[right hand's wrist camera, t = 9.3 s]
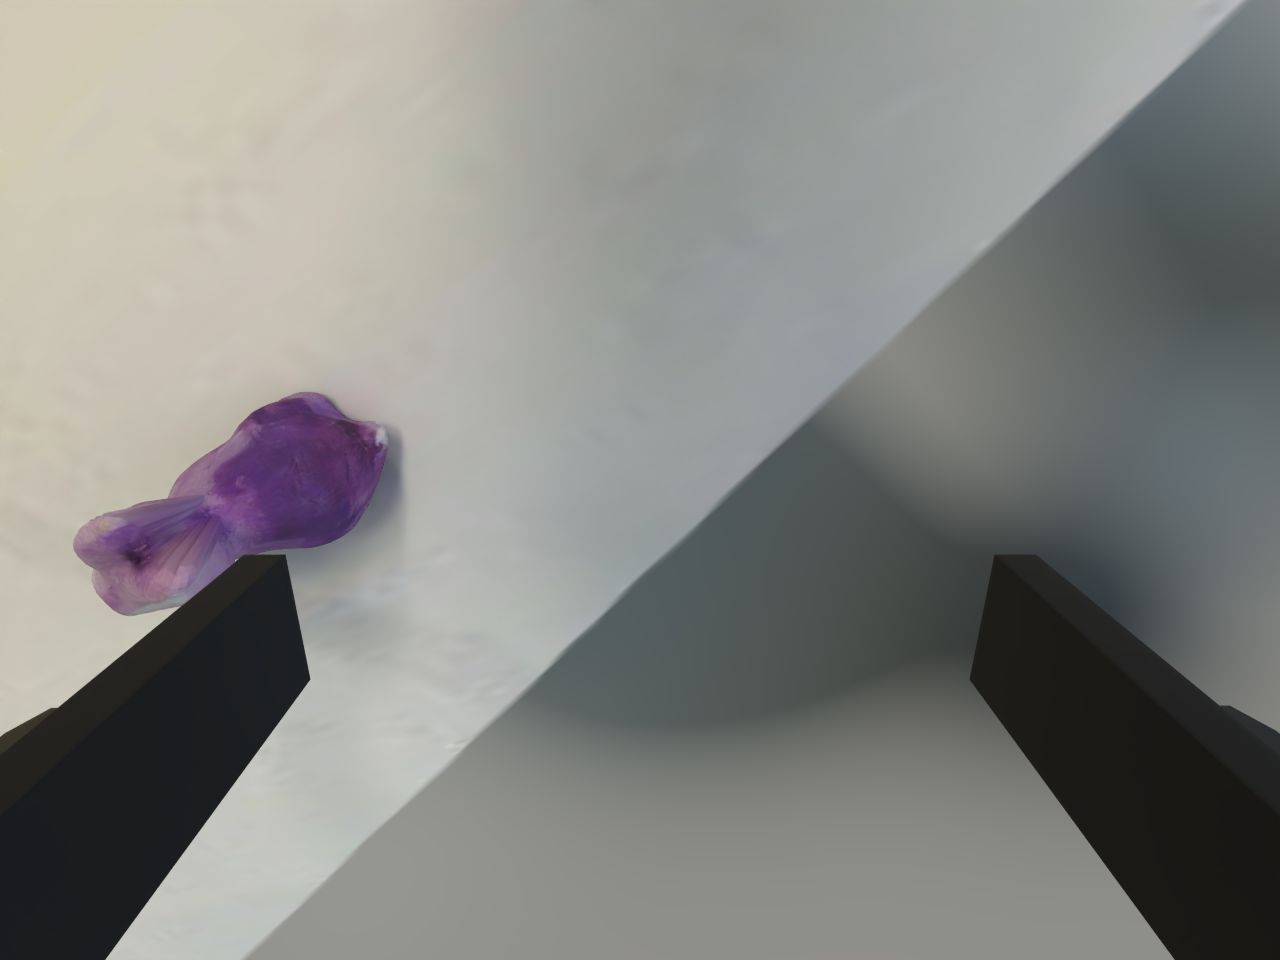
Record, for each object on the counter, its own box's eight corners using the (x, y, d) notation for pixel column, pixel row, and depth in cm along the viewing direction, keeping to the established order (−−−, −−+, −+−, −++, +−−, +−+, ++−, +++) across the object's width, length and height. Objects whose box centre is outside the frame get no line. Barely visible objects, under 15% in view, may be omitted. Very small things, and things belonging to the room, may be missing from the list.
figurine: (215, 519, 42) (-2, 666, 28) (241, 363, 38) (10, 437, 24) (367, 567, 43) (233, 730, 29) (405, 418, 40) (275, 521, 25)
